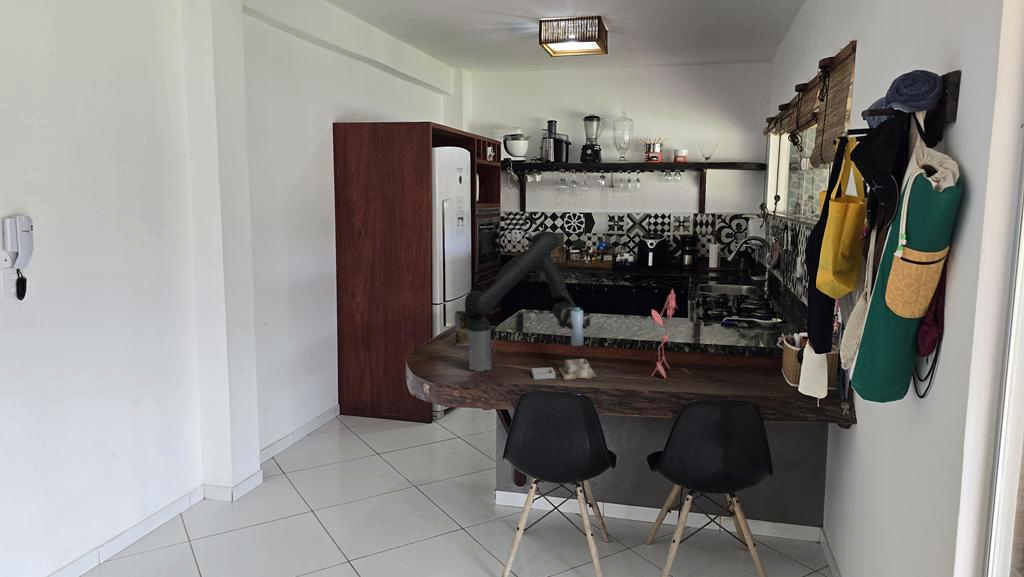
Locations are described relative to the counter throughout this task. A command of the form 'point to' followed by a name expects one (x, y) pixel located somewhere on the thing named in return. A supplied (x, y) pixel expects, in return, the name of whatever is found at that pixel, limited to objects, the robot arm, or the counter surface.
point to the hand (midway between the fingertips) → (578, 326)
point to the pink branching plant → (658, 319)
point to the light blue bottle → (577, 327)
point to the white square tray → (543, 373)
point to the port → (577, 369)
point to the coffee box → (461, 329)
